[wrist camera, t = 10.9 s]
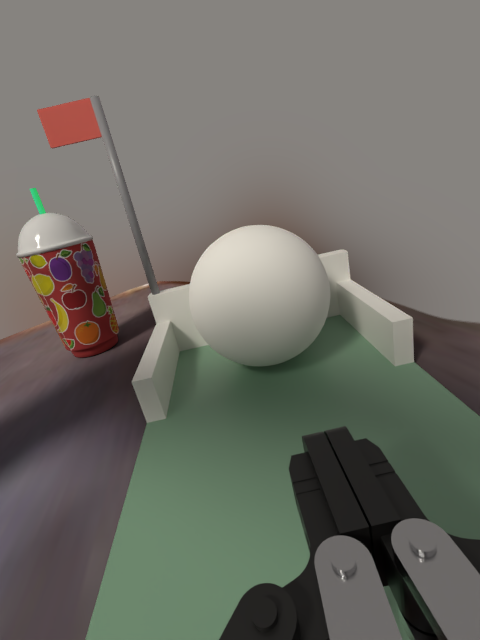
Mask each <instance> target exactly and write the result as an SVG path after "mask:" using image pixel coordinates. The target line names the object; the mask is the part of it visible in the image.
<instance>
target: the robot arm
mask: <svg viewBox="0 0 480 640" xmlns="http://www.w3.org/2000/svg"><path fill="white" fill-rule="evenodd" d="M302 442H303V447H304V453H300V454H296V455H291V460H290V464H289V473H290V478H291V483H292V487H293V492H294V497H295V501H296V505H297V509H298V512H299V516H300V520H301V523H302V527H303V530H304V534H305V538H306V541H307V545H308V549H309V552H310V558H309V561H308V564H307V566H306V568H305V569H304V571H303V572H302V573H301V574H300V575H299V576H298V577H297V578H295V579H294V580H293V581H291V582H290V583H288V584H287V585H285V586H284V587H280V586H278V585H276V584H272V583H262V584H258V585H255V586H254V587H252V588H250V589H249V590H248V591H247V592H246V593H245V594H244V595H243V596H242V598H241V599H240V601H239V603H238V605H237V607H236V609H235V610H234V612H233V614H232V616H231V618H230V620H229V622H228V624H227V625H226V627H225V629H224V631H223V633H222V635H221V637H220V639H219V640H402V637H401V634H400V632H399V629H398V626H397V623H396V621H395V618H394V615H393V612H392V610H391V607H390V604H389V601H388V599H387V596H386V593H385V591H384V588H383V587H384V586H389V587H390V589H391V591H392V593H393V596H394V598H395V600H396V603H397V613H398V617H399V619H400V622H401V624H402V626H403V628H404V630H405V632H406V634H407V636H408V638H409V640H480V540H477V539H467V538H461V537H457V536H453V535H451V534H448V533H446V532H445V531H444V530H443V529H442V528H440V527H439V526H437V525H436V524H434V523H432V522H430V521H429V520H428V519H427V517H426V516H425V515H424V513H423V512H422V511H421V509H420V508H419V506H418V505H417V503H416V502H415V500H414V499H413V497H412V496H411V494H410V493H409V491H408V490H407V488H406V487H405V485H404V484H403V482H402V481H401V479H400V478H399V476H398V475H397V474H396V473H395V470H394V469H393V467H392V466H391V464H390V463H389V462H388V460H387V458H386V457H385V455H384V454H383V452H382V451H381V449H380V448H379V447H378V446H377V445H375V444H374V443H372V442H371V441H369V440H368V439H367V438H364V439H360V440H354V439H353V437H352V435H351V434H350V432H349V430H348V429H347V427H346V426H343V427H338V428H334V429H330V430H326V431H324V432H323V431H322V432H317V433H313V434H309V435H304V436H302Z"/></svg>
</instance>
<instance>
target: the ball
mask: <svg viewBox="0 0 480 640" xmlns="http://www.w3.org/2000/svg"><path fill="white" fill-rule="evenodd" d="M189 304H190V310H191V315H192V318H193V321H194V323H195V326H196V328H197V330H198V331H199V333H200V335H201V336H202V338H203V339H204V340H205V341H206V343H207V344H208V345H209V346H210V347H211V348H212V349H213V350H215V351H216V352H217V353H219V354H220V355H222V356H223V357H225V358H227V359H229V360H231V361H234V362H236V363H239V364H243V365H248V366H271V365H276V364H279V363H283V362H285V361H288V360H290V359H292V358H294V357H295V356H297V355H299V354H300V353H301V352H303V351H304V350H305V349H306V348H308V347H309V346H310V345H311V343H312V342H313V341H314V340H315V339H316V337H317V336H318V335H319V333H320V331H321V329H322V327H323V326H324V323H325V321H326V318H327V315H328V311H329V305H330V286H329V280H328V276H327V273H326V270H325V268H324V265H323V263H322V262H321V260H320V258H319V256H318V255H317V254H316V252H315V251H314V250H313V249H312V248H311V247H310V246H309V245H308V244H307V243H306V242H305V241H304V240H302V239H301V238H300V237H299V236H297V235H295V234H293V233H291V232H289V231H287V230H284V229H281V228H278V227H274V226H268V225H252V226H246V227H242V228H238V229H235V230H233V231H230V232H228V233H227V234H225V235H223V236H222V237H220V238H219V239H217V240H216V241H215V242H214V243H212V244H211V245H210V246H209V247H208V248H207V249H206V250H205V252H204V253H203V254H202V256H201V257H200V259H199V261H198V263H197V264H196V266H195V268H194V271H193V274H192V278H191V282H190V287H189Z"/></svg>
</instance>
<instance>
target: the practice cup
mask: <svg viewBox="0 0 480 640" xmlns="http://www.w3.org/2000/svg"><path fill="white" fill-rule="evenodd" d="M37 111H38V114H39V117H40V119H41V122H42V125H43V128H44V130H45V133H46V136H47V139H48V141H49V144H50V147H51V148H56V147H60V146H65V145H69V144H74V143H78V142H83V141H87V140H91V139H95V138H100V137H102V139H103V142H104V145H105V148H106V151H107V154H108V157H109V161H110V164H111V167H112V170H113V173H114V176H115V180H116V183H117V186H118V189H119V192H120V195H121V198H122V201H123V205H124V208H125V211H126V214H127V217H128V220H129V223H130V226H131V230H132V233H133V236H134V239H135V242H136V245H137V248H138V251H139V254H140V258H141V261H142V264H143V267H144V270H145V273H146V277H147V280H148V283H149V286H150V289H151V292H152V293H150V294H149V296H148V299H149V303H150V306H151V309H152V312H153V315H154V318H155V321H156V326H155V328H154V331H153V333H152V335H151V338H150V340H149V342H148V345H147V347H146V349H145V352H144V354H143V356H142V359H141V361H140V363H139V366H138V368H137V370H136V373H135V375H134V377H133V380H132V385H133V387H134V390H135V393H136V395H137V398H138V401H139V403H140V406H141V408H142V411H143V414H144V416H145V419H146V422H147V425H146V428H145V432H144V435H143V439H142V442H141V446H140V449H139V453H138V456H137V460H136V463H135V467H134V470H133V474H132V477H131V481H130V484H129V488H128V492H127V495H126V499H125V502H124V506H123V509H122V513H121V516H120V520H119V523H118V527H117V530H116V534H115V537H114V541H113V544H112V548H111V551H110V555H109V559H108V562H107V566H106V569H105V573H104V576H103V580H102V583H101V587H100V590H99V594H98V597H97V601H96V604H95V608H94V611H93V615H92V618H91V622H90V626H89V629H88V633H87V636H86V640H219V639H220V637H221V635H222V633H223V631H224V629H225V627H226V625H227V624H228V622H229V620H230V618H231V616H232V614H233V612H234V610H235V609H236V607H237V605H238V603H239V601H240V599H241V598H242V596H243V595H244V594H245V593H246V592H247V591H248V590H249V589H250V588H252V587H254V586H255V585H258V584H262V583H272V584H276V585H278V586H280V587H284V586H285V585H287V584H288V583H290V582H291V581H293V580H294V579H295V578H297V577H298V576H299V575H300V574H301V573H302V572H303V571H304V569H305V568H306V566H307V564H308V561H309V558H310V552H309V549H308V545H307V541H306V538H305V534H304V530H303V527H302V523H301V520H300V516H299V512H298V509H297V505H296V501H295V497H294V492H293V487H292V483H291V478H290V473H289V464H290V460H291V455H296V454H300V453H304V447H303V442H302V436H304V435H309V434H313V433H317V432H322V431H323V432H324V431H326V430H330V429H334V428H338V427H343V426H346V427H347V429H348V430H349V432H350V434H351V435H352V437H353V439H354V440H360V439H364V438H367V439H368V440H369V441H371V442H372V443H374V444H375V445H377V446H378V447H379V448H380V449H381V451H382V452H383V454H384V455H385V457H386V458H387V460H388V462H389V463H390V464H391V466H392V467H393V469H394V470H395V473H396V474H397V475H398V476H399V478H400V479H401V481H402V482H403V484H404V485H405V487H406V488H407V490H408V491H409V493H410V494H411V496H412V497H413V499H414V500H415V502H416V503H417V505H418V506H419V508H420V509H421V511H422V512H423V513H424V515H425V516H426V517H427V519H428V520H429V521H430V522H432V523H434V524H436V525H437V526H439V527H440V528H442V529H443V530H444V531H445V532H446V533H448V534H451V535H453V536H457V537H461V538H467V539H477V540H480V416H478V415H477V414H476V413H475V412H474V411H472V410H471V409H470V408H469V407H468V406H466V405H465V404H464V403H463V402H462V401H460V400H459V399H458V398H457V397H456V396H454V395H453V394H452V393H451V392H450V391H448V390H447V389H446V388H445V387H444V386H442V385H441V384H440V383H439V382H438V381H436V380H435V379H434V378H433V377H432V376H430V375H429V374H428V373H427V372H426V371H424V370H423V369H422V368H421V367H420V366H418V365H417V364H416V363H415V362H414V345H413V318H412V317H410V316H409V315H407V314H406V313H404V312H402V311H401V310H399V309H397V308H396V307H394V306H393V305H391V304H389V303H388V302H386V301H385V300H383V299H381V298H380V297H378V296H376V295H375V294H373V293H372V292H370V291H368V290H367V289H365V288H363V287H362V286H360V285H359V284H357V283H355V282H354V281H352V280H351V279H350V271H349V261H348V252H347V251H345V250H343V249H341V250H337V251H333V252H328V253H324V254H319V255H318V256H319V258H320V260H321V262H322V263H323V265H324V268H325V270H326V273H327V276H328V280H329V286H330V305H329V311H328V315H327V318H326V321H325V323H324V326H323V327H322V329H321V331H320V333H319V335H318V336H317V337H316V339H315V340H314V341H313V342H312V343H311V345H310V346H309V347H308V348H306V349H305V350H304V351H303V352H301V353H300V354H299V355H297V356H295V357H294V358H292V359H290V360H288V361H285V362H283V363H279V364H276V365H271V366H248V365H243V364H239V363H236V362H234V361H231V360H229V359H227V358H225V357H223V356H222V355H220V354H219V353H217V352H216V351H215V350H213V349H212V348H211V347H210V346H209V345H208V344H207V343H206V341H205V340H204V339H203V338H202V336H201V335H200V333H199V331H198V330H197V328H196V326H195V323H194V321H193V318H192V315H191V310H190V304H189V287H190V284H188V285H184V286H180V287H175V288H171V289H167V290H162V291H159V288H158V285H157V282H156V279H155V276H154V272H153V269H152V266H151V263H150V260H149V257H148V253H147V250H146V247H145V244H144V240H143V237H142V234H141V231H140V227H139V224H138V221H137V218H136V214H135V211H134V208H133V205H132V202H131V198H130V195H129V192H128V189H127V185H126V182H125V179H124V176H123V172H122V169H121V166H120V163H119V160H118V156H117V153H116V150H115V147H114V144H113V140H112V137H111V134H110V131H109V127H108V124H107V121H106V118H105V115H104V111H103V108H102V105H101V102H100V98H99V96H91V97H90V98H87V99H82V100H78V101H73V102H69V103H65V104H60V105H56V106H52V107H47V108H43V109H39V110H37ZM383 588H384V591H385V593H386V596H387V599H388V601H389V604H390V607H391V610H392V612H393V615H394V618H395V621H396V623H397V626H398V629H399V632H400V634H401V637H402V640H409V638H408V636H407V634H406V632H405V630H404V628H403V626H402V624H401V622H400V619H399V617H398V613H397V603H396V600H395V598H394V596H393V593H392V591H391V589H390V587H389V586H384V587H383Z"/></svg>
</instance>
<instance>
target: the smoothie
mask: <svg viewBox="0 0 480 640" xmlns="http://www.w3.org/2000/svg"><path fill="white" fill-rule="evenodd" d="M30 191H31V193H32V196H33V199H34V201H35V204H36V206H37V209H38V211H39V213H40V214H39V215H36V216H35V217H33V218H32V219H30V220H29V221H28V222H27V223H26V224H25V225H24V226H23V228H22V230H21V232H20V235H19V238H18V253H17V254H16V255H17V257H18V258H19V260H20V262H21V264H22V266H23V268H24V270H25V272H26V274H27V275H28V277H29V279H30V281H31V283H32V285H33V287H34V289H35V291H36V293H37V294H38V296H39V298H40V300H41V302H42V304H43V306H44V308H45V310H46V312H47V314H48V315H49V317H50V319H51V321H52V323H53V325H54V327H55V329H56V331H57V333H58V335H59V336H60V338H61V340H62V342H63V344H64V346H65V348H66V349H67V350H69V351H71V352H72V353H73V354H74V356H75V357H80V358H82V357H90V356H94V355H97V354H100V353H102V352H105V351H107V350H108V349H110V348H112V347H113V346H114V345H115V344H116V343H117V342H118V336H117V334H118V332H119V327H118V324H117V320H116V317H115V314H114V310H113V307H112V304H111V300H110V297H109V293H108V290H107V287H106V283H105V280H104V276H103V273H102V270H101V266H100V263H99V260H98V256H97V253H96V249H95V246H94V243H93V240H92V239H93V238H92V235H89V234H88V233H87V232H86V231H85V230H84V229H83V227H82V226H81V225H80V224H79V223H77V222H76V221H75V220H73V219H71V218H69V217H67V216H65V215H61V214H57V213H46V212H45V210H44V207H43V205H42V202H41V200H40V197H39V195H38V192H37V190H36V188H32V189H30Z"/></svg>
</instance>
